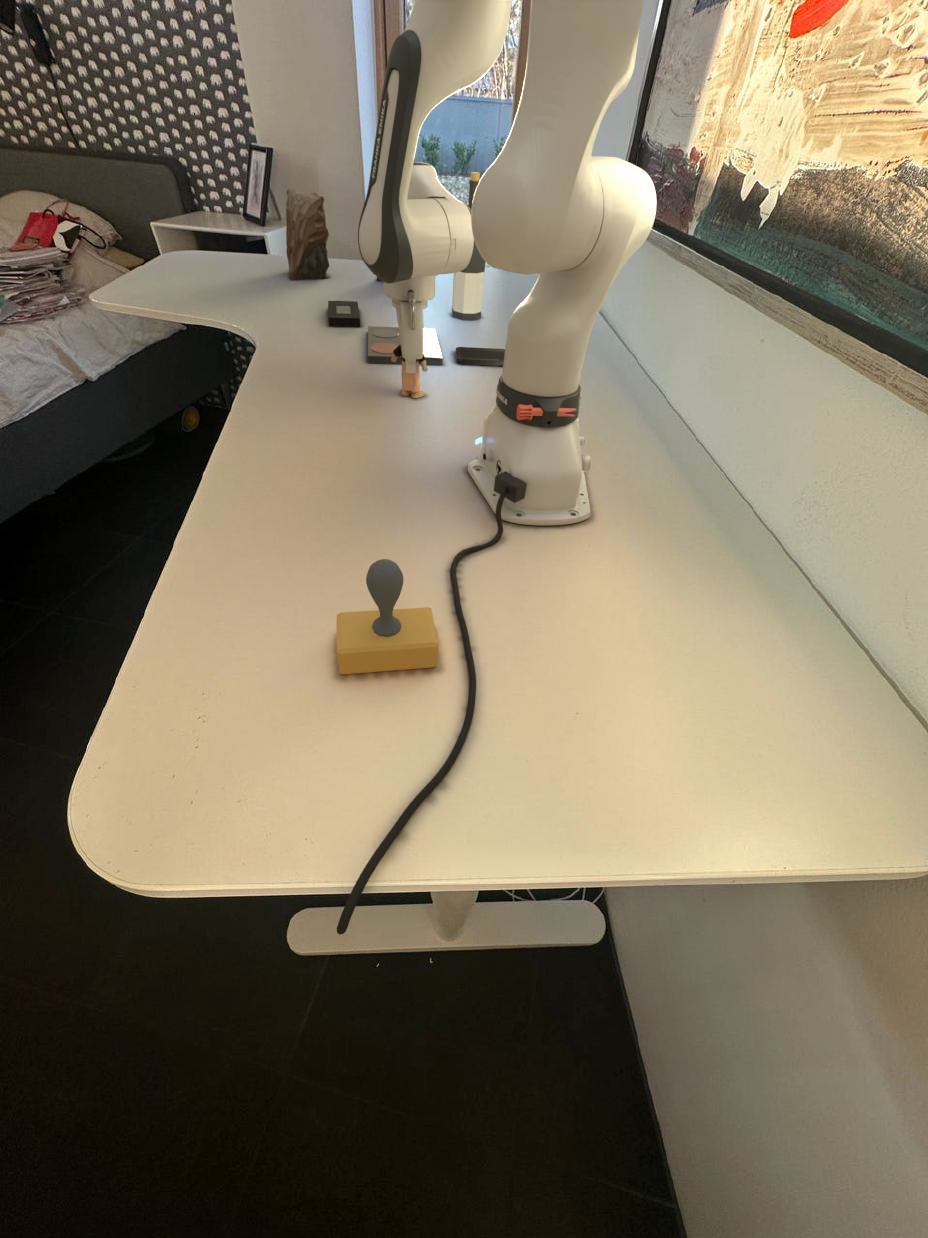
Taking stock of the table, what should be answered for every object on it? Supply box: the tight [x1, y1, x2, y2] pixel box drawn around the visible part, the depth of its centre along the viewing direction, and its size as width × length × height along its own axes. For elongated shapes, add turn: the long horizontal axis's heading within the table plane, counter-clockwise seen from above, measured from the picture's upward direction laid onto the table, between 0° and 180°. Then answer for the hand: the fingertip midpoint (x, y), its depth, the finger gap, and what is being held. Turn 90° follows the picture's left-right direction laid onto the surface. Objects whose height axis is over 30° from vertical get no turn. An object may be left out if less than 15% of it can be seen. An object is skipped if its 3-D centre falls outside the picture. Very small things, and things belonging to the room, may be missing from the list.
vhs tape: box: [327, 300, 361, 328], centre depth 137 cm, size 8×14×2 cm, turn 10°
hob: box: [367, 325, 444, 366], centre depth 125 cm, size 20×16×2 cm
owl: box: [285, 188, 330, 281], centre depth 159 cm, size 13×13×20 cm
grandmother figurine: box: [391, 329, 429, 399], centre depth 103 cm, size 8×4×13 cm, turn 75°
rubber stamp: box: [335, 558, 439, 675], centre depth 54 cm, size 10×6×12 cm, turn 99°
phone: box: [454, 346, 505, 367], centre depth 123 cm, size 8×1×15 cm
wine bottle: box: [451, 171, 486, 321], centre depth 136 cm, size 8×8×30 cm
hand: (409, 367), depth 103 cm, fingers closed on grandmother figurine, 3 cm apart
